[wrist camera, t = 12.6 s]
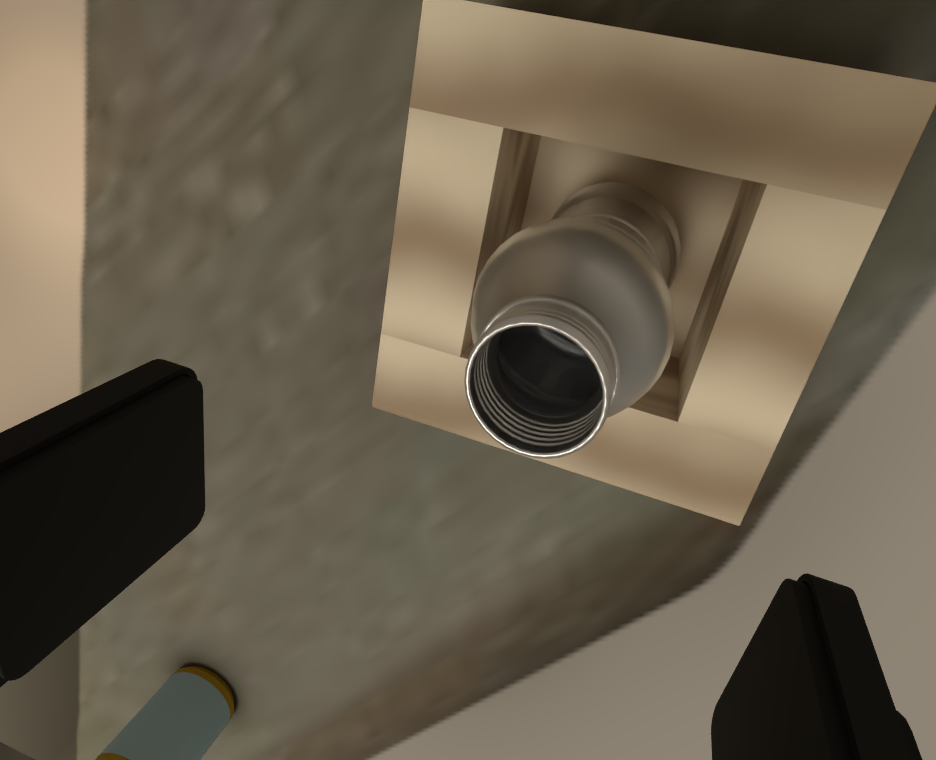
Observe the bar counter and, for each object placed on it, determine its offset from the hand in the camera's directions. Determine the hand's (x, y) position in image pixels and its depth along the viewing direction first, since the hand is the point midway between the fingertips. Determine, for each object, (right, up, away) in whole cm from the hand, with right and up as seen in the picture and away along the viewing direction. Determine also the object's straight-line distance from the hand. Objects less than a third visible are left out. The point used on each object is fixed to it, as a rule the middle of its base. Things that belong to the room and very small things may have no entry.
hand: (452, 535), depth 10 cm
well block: (+8, +10, +24) cm, 27 cm away
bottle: (-25, -28, +51) cm, 64 cm away
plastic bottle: (+8, +10, +23) cm, 26 cm away
